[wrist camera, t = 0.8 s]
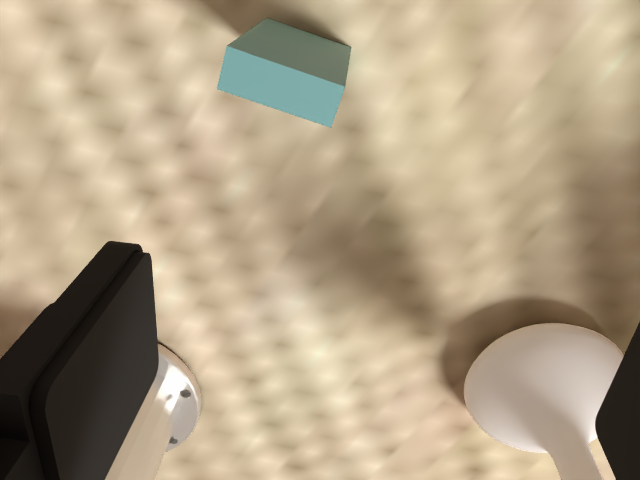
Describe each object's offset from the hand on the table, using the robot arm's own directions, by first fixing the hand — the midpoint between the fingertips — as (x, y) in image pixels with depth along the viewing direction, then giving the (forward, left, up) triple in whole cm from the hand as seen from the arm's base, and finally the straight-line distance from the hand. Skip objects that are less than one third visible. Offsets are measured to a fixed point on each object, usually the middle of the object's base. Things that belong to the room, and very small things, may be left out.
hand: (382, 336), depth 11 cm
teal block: (0, +4, -24) cm, 25 cm away
